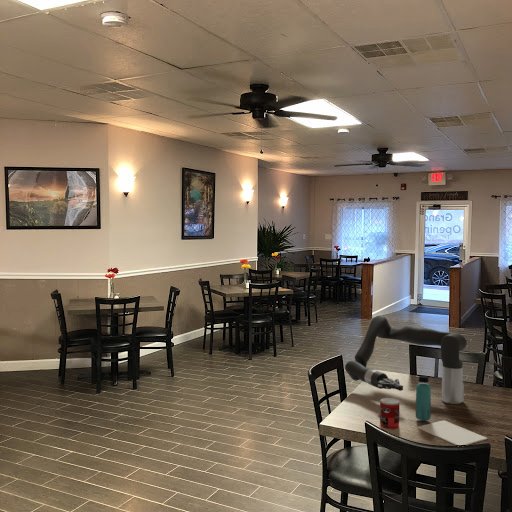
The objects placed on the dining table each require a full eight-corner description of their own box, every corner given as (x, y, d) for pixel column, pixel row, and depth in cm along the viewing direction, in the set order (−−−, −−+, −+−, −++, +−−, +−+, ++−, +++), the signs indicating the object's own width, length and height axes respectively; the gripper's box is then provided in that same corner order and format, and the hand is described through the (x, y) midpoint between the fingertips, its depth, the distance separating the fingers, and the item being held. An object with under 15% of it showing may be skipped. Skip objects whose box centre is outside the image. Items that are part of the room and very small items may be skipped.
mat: (417, 427, 225) (417, 426, 225) (443, 421, 232) (443, 420, 232) (459, 447, 205) (460, 445, 205) (487, 439, 213) (487, 438, 213)
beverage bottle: (428, 425, 228) (429, 379, 227) (413, 422, 231) (414, 376, 230) (432, 420, 233) (433, 375, 232) (417, 417, 237) (418, 373, 236)
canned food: (377, 422, 230) (377, 397, 230) (395, 422, 231) (395, 397, 230) (383, 429, 223) (383, 403, 222) (401, 429, 223) (402, 403, 223)
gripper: (386, 384, 262) (412, 394, 247) (365, 388, 255) (390, 398, 240) (386, 369, 261) (412, 378, 246) (365, 372, 255) (391, 382, 240)
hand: (401, 388), depth 243 cm, fingers closed
